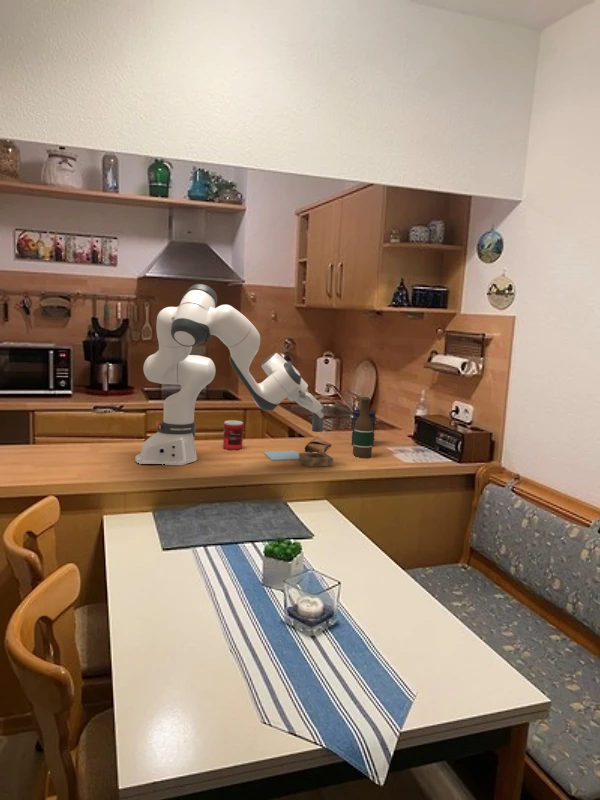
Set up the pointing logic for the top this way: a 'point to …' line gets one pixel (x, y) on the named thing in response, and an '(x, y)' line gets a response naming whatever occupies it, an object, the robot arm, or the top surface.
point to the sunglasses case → (317, 445)
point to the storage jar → (356, 416)
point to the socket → (315, 459)
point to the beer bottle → (363, 432)
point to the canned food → (233, 435)
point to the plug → (317, 422)
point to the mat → (282, 455)
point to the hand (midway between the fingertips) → (319, 415)
